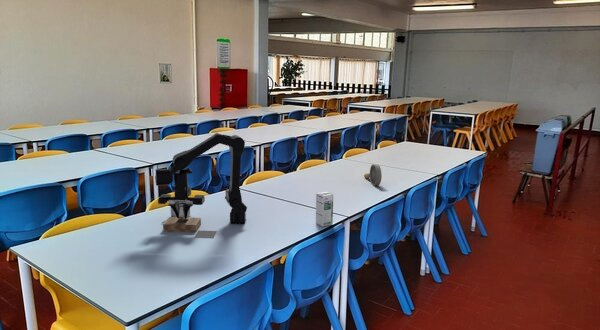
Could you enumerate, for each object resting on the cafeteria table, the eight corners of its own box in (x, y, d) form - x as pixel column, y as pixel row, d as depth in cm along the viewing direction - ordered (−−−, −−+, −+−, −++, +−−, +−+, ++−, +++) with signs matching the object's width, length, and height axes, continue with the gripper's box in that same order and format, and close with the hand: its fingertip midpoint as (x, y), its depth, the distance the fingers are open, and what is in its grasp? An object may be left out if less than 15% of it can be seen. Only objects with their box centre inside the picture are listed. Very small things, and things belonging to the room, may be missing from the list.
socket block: (200, 225, 195) (200, 217, 194) (196, 232, 186) (196, 225, 185) (169, 224, 195) (169, 216, 194) (163, 231, 186) (162, 224, 185)
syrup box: (322, 226, 197) (323, 196, 194) (314, 222, 202) (316, 192, 198) (332, 224, 200) (334, 194, 197) (324, 220, 205) (326, 190, 202)
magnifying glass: (363, 166, 286) (376, 163, 261) (367, 165, 286) (381, 163, 262) (363, 185, 285) (377, 185, 261) (368, 185, 286) (381, 185, 261)
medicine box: (190, 215, 207) (190, 198, 205) (185, 218, 202) (185, 200, 201) (175, 213, 209) (175, 196, 207) (170, 216, 205) (169, 199, 203)
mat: (217, 231, 188) (217, 230, 188) (213, 238, 180) (213, 238, 180) (198, 231, 188) (198, 230, 188) (194, 238, 180) (194, 237, 180)
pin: (188, 223, 192) (187, 201, 190) (185, 226, 188) (184, 204, 186) (179, 223, 192) (178, 201, 190) (176, 226, 188) (176, 204, 186)
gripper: (207, 179, 194) (207, 212, 197) (164, 178, 194) (166, 211, 197) (201, 186, 183) (202, 221, 186) (156, 185, 183) (158, 220, 186)
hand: (182, 218), depth 189 cm, fingers closed on pin, 3 cm apart
